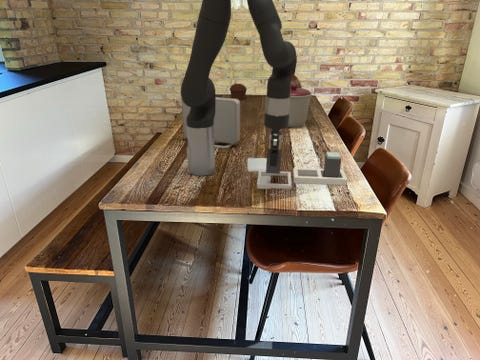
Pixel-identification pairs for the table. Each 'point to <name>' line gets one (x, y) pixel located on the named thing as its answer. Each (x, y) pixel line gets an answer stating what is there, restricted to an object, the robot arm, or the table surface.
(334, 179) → the white compartment holder
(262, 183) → the tray
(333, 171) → the dark board eraser
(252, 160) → the hard drive
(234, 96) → the muffin
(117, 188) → the table surface
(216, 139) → the network device
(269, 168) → the dark grey orange block
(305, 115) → the canister
